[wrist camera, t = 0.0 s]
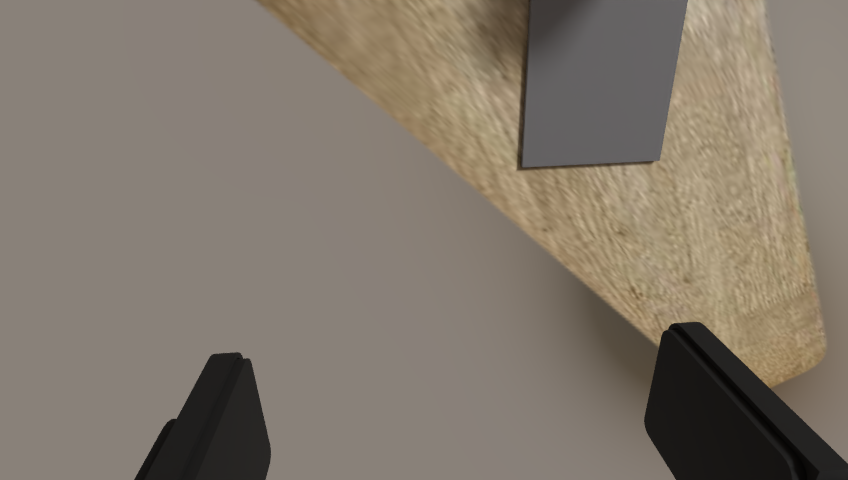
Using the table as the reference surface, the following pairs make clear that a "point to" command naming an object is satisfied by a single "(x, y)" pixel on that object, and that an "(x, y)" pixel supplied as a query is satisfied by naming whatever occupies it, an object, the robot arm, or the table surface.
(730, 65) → the table surface
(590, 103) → the mat
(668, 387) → the robot arm
